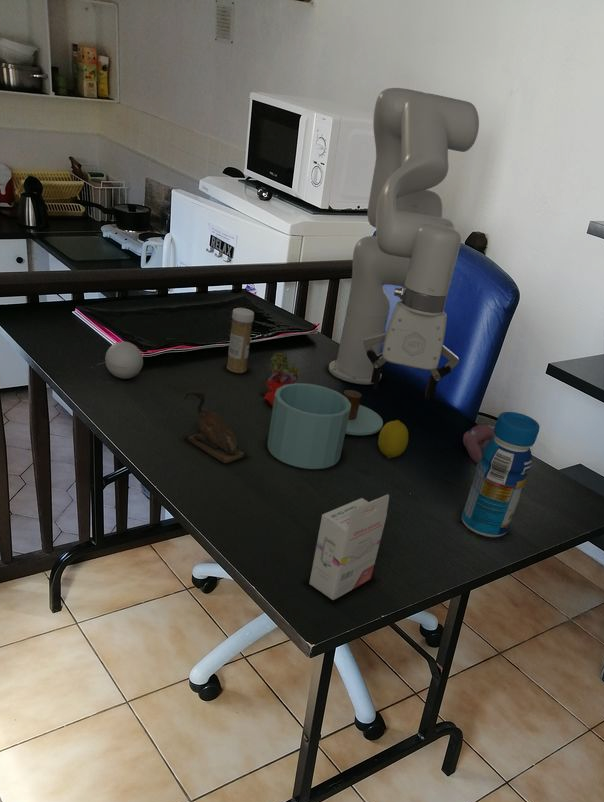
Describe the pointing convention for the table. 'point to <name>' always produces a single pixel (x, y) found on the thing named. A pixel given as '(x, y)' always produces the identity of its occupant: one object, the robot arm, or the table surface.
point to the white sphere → (124, 360)
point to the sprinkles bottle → (240, 340)
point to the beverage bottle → (501, 475)
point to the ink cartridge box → (348, 546)
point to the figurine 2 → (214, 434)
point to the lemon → (393, 439)
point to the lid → (361, 416)
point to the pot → (308, 425)
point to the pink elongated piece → (478, 440)
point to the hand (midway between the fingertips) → (401, 392)
